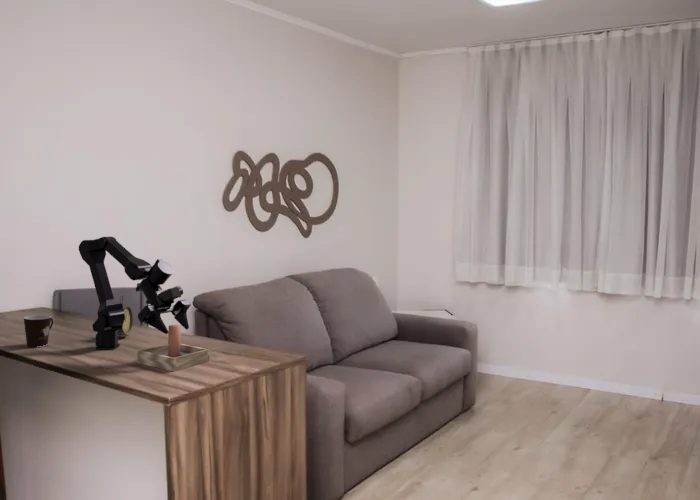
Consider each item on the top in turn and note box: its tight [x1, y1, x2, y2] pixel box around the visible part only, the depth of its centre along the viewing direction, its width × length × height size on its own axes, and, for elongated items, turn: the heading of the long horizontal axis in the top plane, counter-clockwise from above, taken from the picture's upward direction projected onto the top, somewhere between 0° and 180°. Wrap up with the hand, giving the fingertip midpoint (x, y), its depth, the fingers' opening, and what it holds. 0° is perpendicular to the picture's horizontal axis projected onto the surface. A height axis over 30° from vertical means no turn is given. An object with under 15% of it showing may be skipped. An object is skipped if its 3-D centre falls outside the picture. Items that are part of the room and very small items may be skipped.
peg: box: [167, 324, 182, 358], centre depth 204 cm, size 4×4×12 cm
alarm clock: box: [118, 294, 133, 341], centre depth 235 cm, size 11×5×16 cm, turn 179°
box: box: [137, 343, 211, 372], centre depth 204 cm, size 16×16×4 cm
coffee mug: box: [23, 314, 54, 348], centre depth 219 cm, size 12×9×10 cm
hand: (177, 330), depth 202 cm, fingers open, 9 cm apart
